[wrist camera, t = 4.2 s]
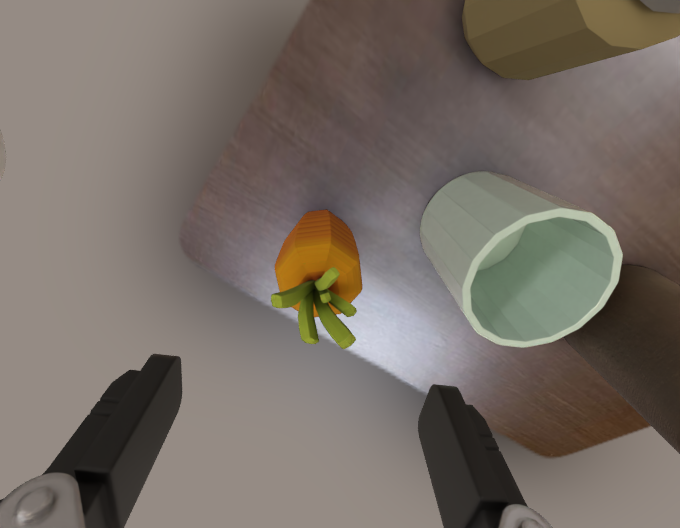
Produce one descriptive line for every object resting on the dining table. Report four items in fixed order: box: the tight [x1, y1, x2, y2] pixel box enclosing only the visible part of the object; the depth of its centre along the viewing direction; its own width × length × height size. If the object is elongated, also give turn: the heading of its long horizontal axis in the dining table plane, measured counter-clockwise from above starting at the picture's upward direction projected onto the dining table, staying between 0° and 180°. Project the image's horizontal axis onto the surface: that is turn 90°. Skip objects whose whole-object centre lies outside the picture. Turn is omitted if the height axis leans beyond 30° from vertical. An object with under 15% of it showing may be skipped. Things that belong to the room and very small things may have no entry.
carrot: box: [271, 209, 362, 349], centre depth 21 cm, size 5×5×15 cm
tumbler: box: [420, 171, 623, 348], centre depth 24 cm, size 9×9×10 cm
